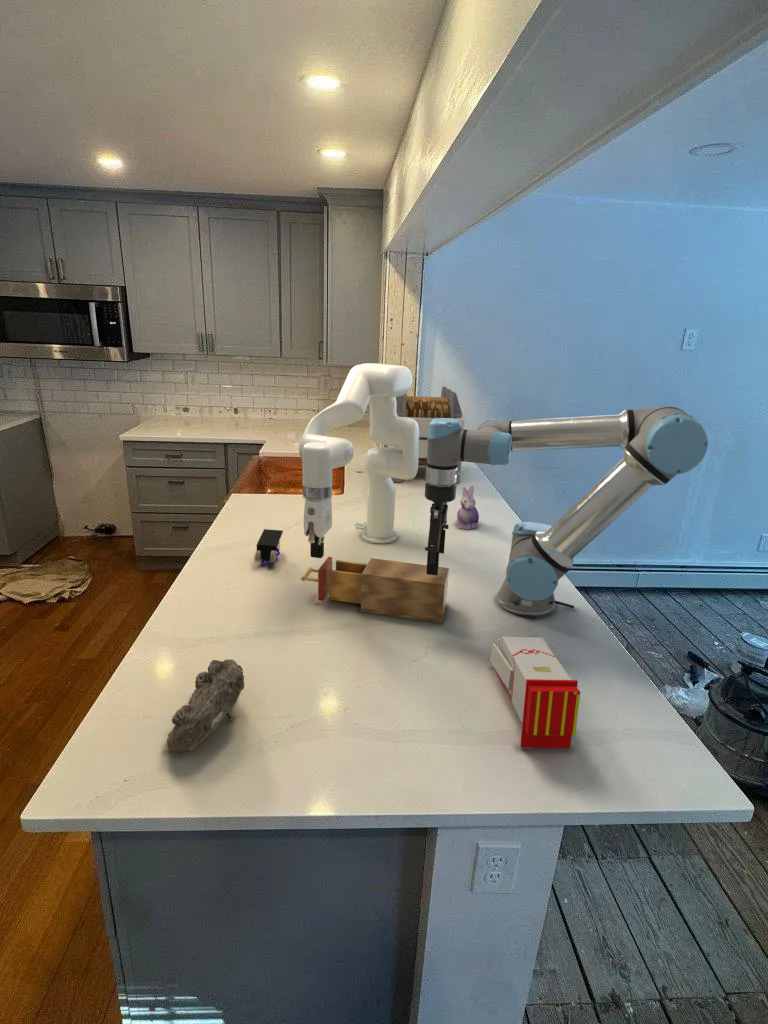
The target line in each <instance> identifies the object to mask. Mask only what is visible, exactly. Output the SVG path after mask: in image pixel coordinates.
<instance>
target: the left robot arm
mask: <svg viewBox="0 0 768 1024" xmlns="http://www.w3.org/2000/svg"><path fill="white" fill-rule="evenodd" d="M412 385H413V374H412V372H411V370H410V368H409V367H408V366H406V365H396V364H385V363H376V362H375V363H374V362H372V363H371V362H367V363H361V364H356V365H354V366H353V367H352V368H350V370H349V371H348V373H347V377H346V378H345V380H344V382H343V385H342V387H341V389H340V391H339V394H338V396H337V398H336V400H335V402H333V403H332V404H331V405H328V406H327V407H325V408H324V409H323V410H321V411H320V412H318V413H317V414H316V415H314V416H313V417H312V418H311V419H310V421H309V422H308V423H307V426H306V427H305V429H304V431H303V434H302V436H301V438H300V442H299V446H298V454H299V456H300V459H302V461H301V462H302V464H301V465H302V468H301V470H302V473H301V474H302V498H303V499H304V510H303V534H304V536H305V537H308V540H307V542H308V543H309V545H310V550H309V551H310V554H309V555H310V557H311V558H313V559H314V558H315V559H322V558H323V557H324V556H325V536H326V534H327V533H328V532H329V531H330V530H331V529H332V527H333V507H332V505H333V503H332V498H333V469H337V468H338V469H339V468H343V467H346V466H347V465H348V464H350V463H351V462H352V459H353V458H354V454H355V451H354V449H355V448H354V446H353V444H352V442H351V441H350V440H348V439H346V438H341V437H335V436H329V435H325V434H327V433H328V432H330V431H332V430H334V429H337V428H339V427H345V426H347V425H350V424H354V423H356V422H359V421H361V419H363V418H364V416H365V413H366V411H367V408H368V406H369V435H370V439H371V441H372V442H373V443H375V444H378V445H383V446H374V447H372V448H370V449H368V451H367V452H366V455H365V461H364V462H365V463H364V464H365V470H366V478H367V491H366V519H365V520H366V521H364V522H362V521H355V522H354V527H355V529H356V530H361V534H360V535H361V538H362V539H363V540H364V541H366V542H368V543H373V544H389V543H393V542H395V541H397V540H398V537H399V534H398V532H397V531H396V530H395V528H394V527H395V510H396V509H395V508H396V507H395V506H396V491H397V490H396V485H395V482H393V481H392V479H391V478H398V479H402V480H407V481H408V480H409V481H410V480H413V479H414V478H415V477H416V476H417V474H418V470H419V466H418V459H419V427H418V424H417V422H416V421H415V420H414V419H411V418H406V417H398V416H397V413H396V398H395V397H398V396H403V395H405V394H406V393H407V394H408V393H409V391H410V390H411V388H412ZM384 445H389V446H396V447H401V448H402V450H400V449H394V448H386V447H384Z"/></svg>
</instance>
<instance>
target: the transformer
mask: <svg viewBox="0 0 768 1024" xmlns="http://www.w3.org/2000/svg"><path fill="white" fill-rule="evenodd" d="M440 393H441V394H440V396H415V395H414V396H413V395H412V396H411V395H407V394H408V392H407V393H406V394H405V395H403V396H398V397H395V398H396V413H397V416H398V417H406V418H411V419H414V420H415V421H416V422H417V424H418V427H419V459H418V467H426V464H427V443H428V440H427V438H428V433H429V424H430V422H431V421H432V420H433V419H437V418H451V419H456V420H459V421H460V422H461V427H462V428H461V429H465V419H464V418H463V411H462V408H461V405H460V402H459V398H458V395H457V392H455V391H453V390H452V389H451V388H447V386H442V387H441V392H440ZM383 447H386V448H394V449H400V450H402V448H401V447H396V446H389V445H383ZM462 462H463V461H458V467H457V470H456V471H459V472H460V474H459V475H457V481H456V483H455V484H459V483H461V472H462ZM391 479H392V481H393V483H402V482H403V479H398V478H391Z"/></svg>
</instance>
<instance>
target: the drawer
mask: <svg viewBox="0 0 768 1024" xmlns="http://www.w3.org/2000/svg"><path fill="white" fill-rule="evenodd" d="M333 559H334V558H333V556H328V557H327V558H326V559H325V560H324V562H323V563H322V564H321V565H320V567H319V568H318V569H315V568H313V567H311V566H310V567H308V569H307V570H306V571H305V572H304V573H303V575H302V576H301V578H300V580H301V581H302V582H306V581H309V582H316V583H317V601H318V602H323V601H324V600H325V598H326V597H327V595H328V600H331V601H338V602H343V603H352V604H359V605H361V585H362V572H363V571H364V569H365V567H366V566H367V564H368V563H362V562H354V561H348V560H339V559H337V560H336V561H335V569H333ZM312 573H317V578H313V577H309V576H310V575H311V574H312Z"/></svg>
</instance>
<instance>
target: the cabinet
mask: <svg viewBox="0 0 768 1024" xmlns="http://www.w3.org/2000/svg"><path fill="white" fill-rule="evenodd" d="M366 564H367V566H366V567H365V569H364V571H363V572H362V585H361V604H360V612H364V613H369V614H370V613H371V614H378V615H384V616H391V617H397V618H403V619H410V620H417V621H423V622H430V623H436V624H437V623H438V624H442V623H443V618H444V615H445V610H446V606H447V596H448V586H449V585H448V584H449V576H450V575H449V574H450V568H449V567H443V566H438V575H428V574H426V573H427V564H420V563H412V562H405V561H399V560H398V561H397V560H390V559H389V560H388V559H383V558H382V559H381V558H373V557H370V558H369V560H368V563H366Z"/></svg>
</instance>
